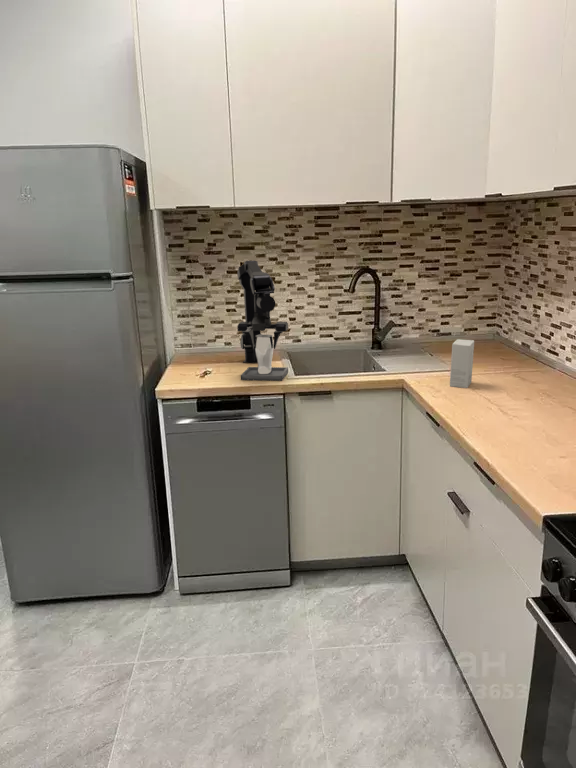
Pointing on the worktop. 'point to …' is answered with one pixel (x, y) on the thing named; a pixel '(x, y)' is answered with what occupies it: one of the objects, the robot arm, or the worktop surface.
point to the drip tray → (252, 375)
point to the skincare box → (461, 363)
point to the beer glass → (264, 353)
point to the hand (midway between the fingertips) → (263, 348)
